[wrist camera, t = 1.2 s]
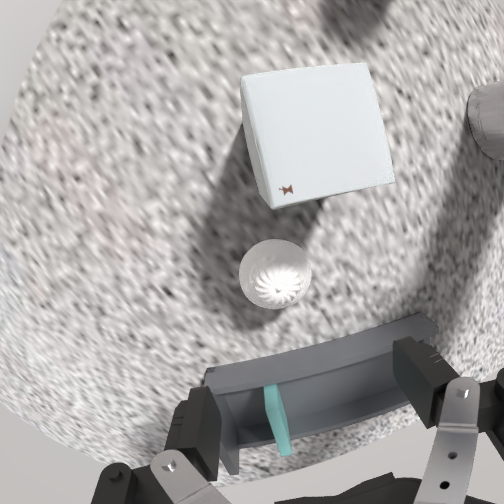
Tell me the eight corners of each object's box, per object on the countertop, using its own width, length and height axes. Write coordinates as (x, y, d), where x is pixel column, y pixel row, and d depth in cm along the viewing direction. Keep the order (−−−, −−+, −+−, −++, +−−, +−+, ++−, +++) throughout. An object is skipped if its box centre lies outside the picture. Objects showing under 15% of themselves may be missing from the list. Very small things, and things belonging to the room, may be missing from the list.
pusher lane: (421, 311, 31) (458, 344, 23) (419, 376, 34) (447, 413, 26) (207, 368, 32) (198, 417, 24) (232, 427, 35) (229, 475, 27)
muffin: (271, 305, 30) (278, 341, 24) (225, 264, 29) (219, 291, 23) (317, 262, 29) (337, 287, 23) (272, 217, 28) (280, 231, 22)
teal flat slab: (273, 370, 31) (278, 407, 25) (286, 417, 33) (292, 454, 27) (262, 373, 31) (265, 410, 25) (276, 419, 33) (281, 456, 27)
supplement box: (336, 180, 28) (398, 188, 15) (258, 196, 28) (267, 213, 16) (319, 104, 26) (370, 60, 14) (240, 118, 26) (236, 75, 14)
